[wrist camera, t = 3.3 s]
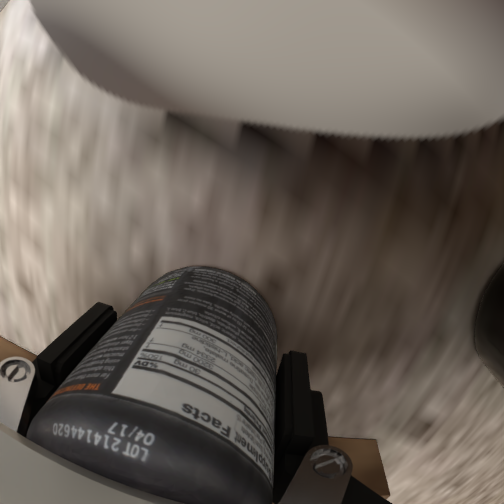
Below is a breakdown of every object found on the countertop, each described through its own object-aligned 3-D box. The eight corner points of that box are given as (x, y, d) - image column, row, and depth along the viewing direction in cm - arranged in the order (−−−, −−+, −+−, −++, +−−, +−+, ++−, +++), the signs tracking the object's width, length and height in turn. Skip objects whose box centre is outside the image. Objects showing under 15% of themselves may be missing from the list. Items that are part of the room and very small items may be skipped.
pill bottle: (167, 388, 14) (76, 592, 3) (122, 276, 13) (-80, 468, 2) (289, 375, 14) (286, 635, 3) (260, 248, 12) (181, 612, 1)
